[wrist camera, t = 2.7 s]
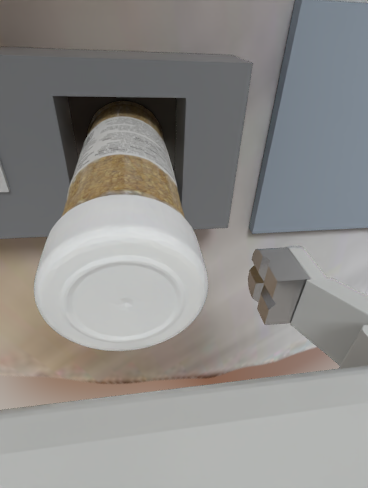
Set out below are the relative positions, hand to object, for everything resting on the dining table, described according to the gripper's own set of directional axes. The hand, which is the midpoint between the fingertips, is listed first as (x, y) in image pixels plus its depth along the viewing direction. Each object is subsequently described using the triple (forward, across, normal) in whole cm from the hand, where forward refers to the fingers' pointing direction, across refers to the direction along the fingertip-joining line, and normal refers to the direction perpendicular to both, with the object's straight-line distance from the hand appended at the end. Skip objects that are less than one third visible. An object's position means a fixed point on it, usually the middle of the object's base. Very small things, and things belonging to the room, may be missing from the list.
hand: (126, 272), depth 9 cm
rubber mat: (+12, -16, -1) cm, 20 cm away
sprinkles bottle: (+12, 0, -1) cm, 12 cm away
